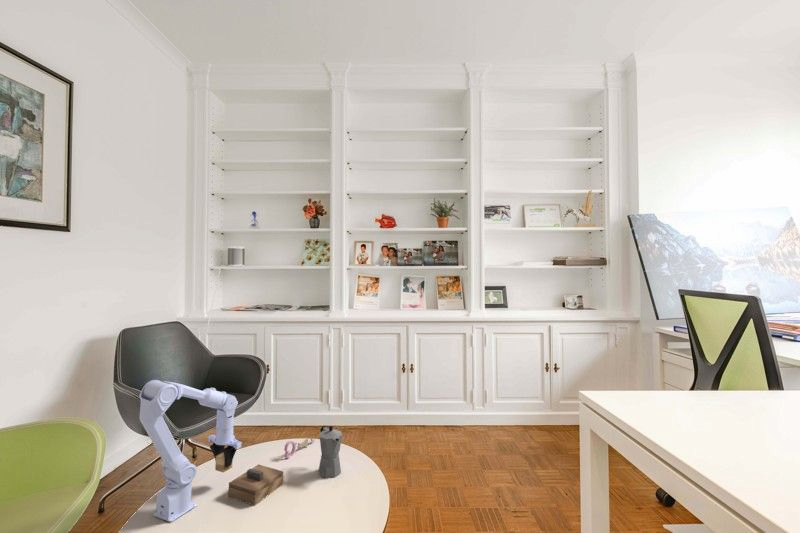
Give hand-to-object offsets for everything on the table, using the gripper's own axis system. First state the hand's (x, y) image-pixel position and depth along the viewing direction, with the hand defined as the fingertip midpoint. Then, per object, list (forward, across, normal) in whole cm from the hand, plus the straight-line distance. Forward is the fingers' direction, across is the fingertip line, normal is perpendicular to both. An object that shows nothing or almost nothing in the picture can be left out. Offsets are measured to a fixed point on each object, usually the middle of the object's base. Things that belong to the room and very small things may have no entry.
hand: (223, 464), depth 135 cm
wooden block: (+2, 0, 0) cm, 2 cm away
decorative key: (+8, -8, -35) cm, 37 cm away
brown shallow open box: (+8, -13, -3) cm, 15 cm away
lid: (+4, -13, -3) cm, 14 cm away
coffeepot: (+8, -29, -25) cm, 39 cm away
